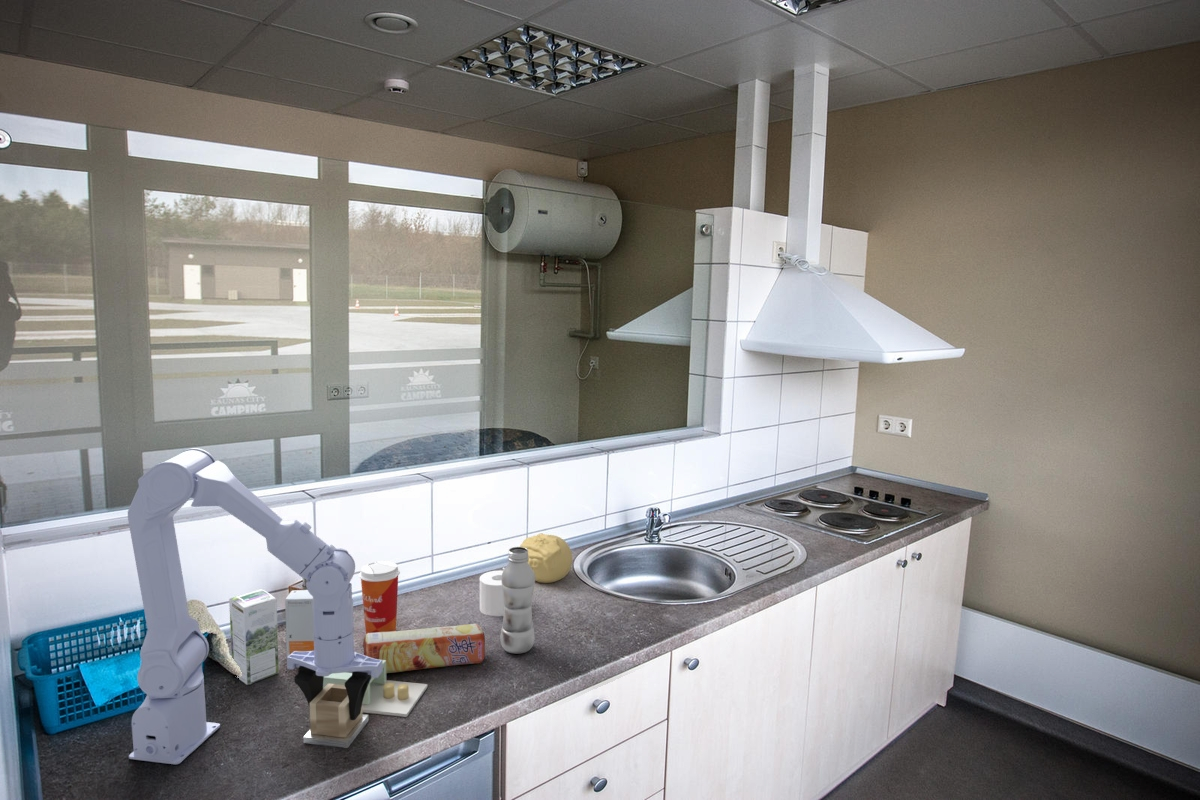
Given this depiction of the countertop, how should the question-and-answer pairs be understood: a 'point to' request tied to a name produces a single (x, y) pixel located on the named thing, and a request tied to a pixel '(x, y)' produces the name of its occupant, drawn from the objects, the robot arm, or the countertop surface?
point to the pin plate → (337, 740)
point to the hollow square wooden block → (332, 712)
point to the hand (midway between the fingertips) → (336, 714)
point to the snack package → (426, 647)
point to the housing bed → (393, 698)
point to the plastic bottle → (517, 602)
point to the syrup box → (254, 635)
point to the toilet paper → (491, 593)
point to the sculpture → (548, 557)
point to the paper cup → (380, 596)
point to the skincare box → (299, 621)
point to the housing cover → (343, 677)
